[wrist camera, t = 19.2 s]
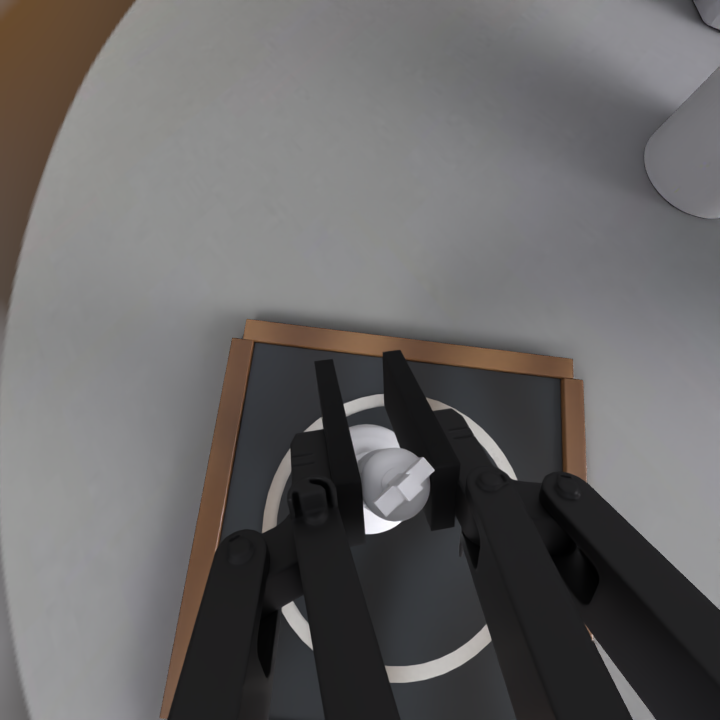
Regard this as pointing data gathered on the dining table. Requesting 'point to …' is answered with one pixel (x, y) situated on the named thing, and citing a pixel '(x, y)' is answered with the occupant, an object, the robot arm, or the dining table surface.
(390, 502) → the chess piece
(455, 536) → the slate
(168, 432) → the dining table surface
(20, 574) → the dining table surface
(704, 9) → the bowl
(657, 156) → the white cylinder
